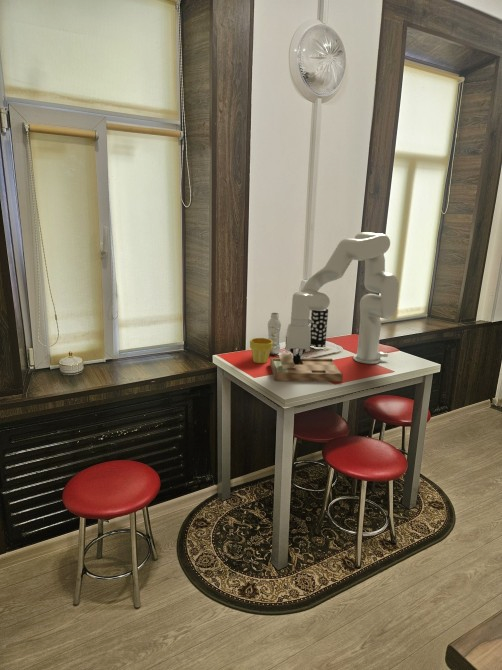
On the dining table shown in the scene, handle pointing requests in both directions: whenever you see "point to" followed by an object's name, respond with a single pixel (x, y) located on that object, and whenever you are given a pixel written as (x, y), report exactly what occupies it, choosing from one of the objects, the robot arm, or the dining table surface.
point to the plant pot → (260, 349)
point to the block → (286, 360)
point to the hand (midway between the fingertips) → (296, 363)
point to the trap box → (306, 370)
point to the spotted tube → (318, 328)
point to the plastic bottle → (274, 332)
